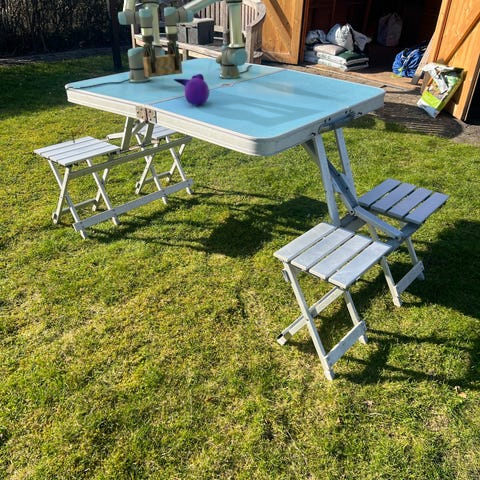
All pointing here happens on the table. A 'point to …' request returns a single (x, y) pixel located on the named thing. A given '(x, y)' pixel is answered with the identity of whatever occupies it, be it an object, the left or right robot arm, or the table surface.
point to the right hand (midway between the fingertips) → (174, 69)
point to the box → (162, 66)
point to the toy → (195, 89)
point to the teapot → (219, 60)
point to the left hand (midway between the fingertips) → (151, 72)
